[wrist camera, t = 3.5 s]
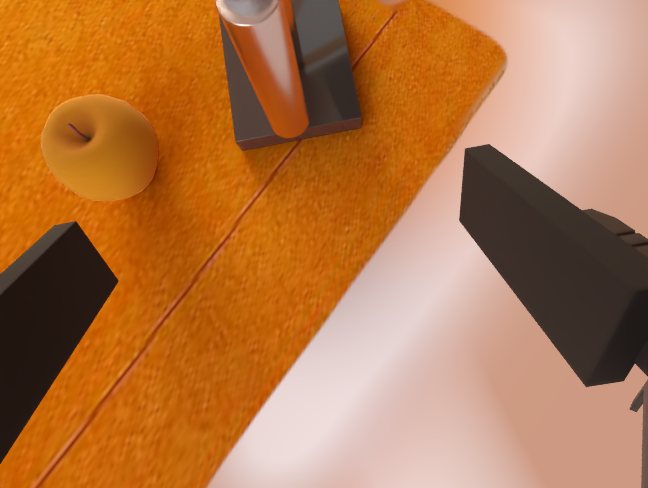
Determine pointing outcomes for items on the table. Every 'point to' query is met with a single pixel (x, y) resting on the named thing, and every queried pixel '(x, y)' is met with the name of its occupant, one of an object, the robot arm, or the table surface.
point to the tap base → (316, 76)
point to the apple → (100, 147)
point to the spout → (270, 58)
